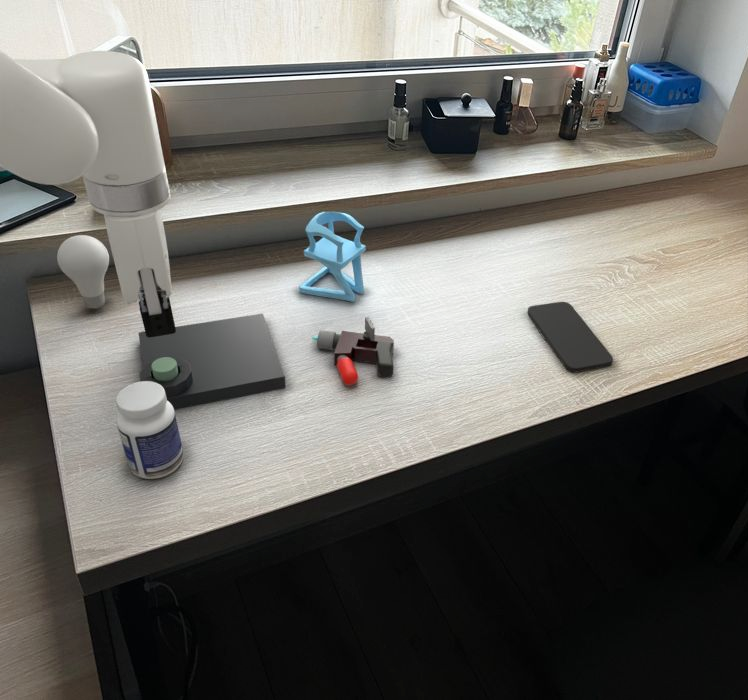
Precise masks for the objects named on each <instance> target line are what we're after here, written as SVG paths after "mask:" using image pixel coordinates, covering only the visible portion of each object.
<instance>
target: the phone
mask: <svg viewBox="0 0 748 700" xmlns="http://www.w3.org/2000/svg"><path fill="white" fill-rule="evenodd" d="M526 314H527V315H528V317H529V318H530V320H531V321H532V323H533V324H534V326H535V327H536V329H538V331H539V333H540V334H541V335H542V336H543V339H545V341H546V342H547V344H548V346H550V348H551V349H552V351H553V352H554V353H555V355H556V356H557V358H558V359H559V360H560V362H561V363H562V365H563V366H564V367H565V368H566V369H567V370H568V371H569V372H574V373H577V372H583V371H589V370H594V369H599V368H605V367H610V366H611V365H612V364H613V361H614V358H613V356H612V354H611V353H610V352H609V351H608V349H607V347H605V346H604V344H603V343H602V342H601V341H600V339H599V338H598V337H597V335H596V334H595V333H594V332H593V331H592V329H591V328H590V327H589V325H588V324H587V322H585V321H584V319H583V318H582V317H581V315H580V314H579V313H578V312H577V310H575V308H574V307H573V306H572V304H571V303H569V302H566V301H557V302H556V301H555V302H550V303H542V304H535V305H530V306H529V307H528V308H527V313H526Z"/></svg>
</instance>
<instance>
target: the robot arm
mask: <svg viewBox="0 0 748 700" xmlns="http://www.w3.org/2000/svg"><path fill="white" fill-rule="evenodd" d="M148 75H149V74H148V72H147V70H146V67H145V66H144V64H143V63H142V62H141V61H140V60H139V59H137V58H136V57H134V56H132V55H130V54H127V53H123V52H118V51H112V50H92V51H85V52H80V53H77V54H72V55H71V56H69V57H65V58H54V59H52V58H51V59H49V58H47V59H22V58H21V59H14V58H12V57H10V56H9V55H8V54H6V53H5V52H4V51H2V50H0V168H2V169H4V170H6V171H7V172H9V173H11V174H13V175H15V176H18V177H19V178H21V179H23V180H26V181H29V182H32V183H36V184H40V185H49V186H54V185H55V186H56V185H63V184H67V183H71V182H74V181H75V180H78V179H80V178H81V177H82V179H83V183H84V187H85V190H86V194H87V198H88V202H89V205H90V207H91V209H93V210H94V211H95V212H96V213H99V214H101V215H103V217H104V222H105V227H106V228H105V229H106V232H107V237H108V242H109V245H110V250H111V255H112V258H113V262H114V266H115V270H116V275H117V278H118V283H119V287H120V291H121V296H122V297H121V298H122V300H123V302H124V303H126V304H128V305H130V304H131V303H137V301H138V300H139V301H138V306H139V312H140V317H141V320H142V321H141V322H142V324H143V328H144V332H145V333H146V336H147V337H149V338H151V337H157V336H163V335H168V334H174V333H175V332H176V328H175V327H176V324H175V323H176V322H175V318H174V314H173V310H172V304H171V299H170V297H171V295H172V294H173V290H172V289H173V288H172V278H171V266H170V258H169V251H168V250H169V249H168V243H167V238H166V232H165V225H164V219H163V215H162V210H161V209H163V208H164V207H165V206H167V205H168V204H169V202H170V201H171V198H172V196H171V190H170V185H169V180H168V175H167V168H166V165H165V159H164V154H163V148H162V143H161V137H160V133H159V132H160V131H159V127H158V122H157V117H156V116H157V115H156V111H155V106H154V100H153V95H152V90H151V84H150V80H149V79H150V78H149V76H148Z"/></svg>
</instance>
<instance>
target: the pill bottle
mask: <svg viewBox="0 0 748 700" xmlns="http://www.w3.org/2000/svg"><path fill="white" fill-rule="evenodd" d="M115 400H116V402H115V403H116V406H117V410H118V412H117V415H116V419H115V420H116V427H117V431H118V433H119V437H120V441H121V444H122V449H123V451H124V455H125V458H126V461H127V465H128V468H129V470H130V471H131V472H132V474H133V475H135V476H136V477H139V478H141V479H147V480H155V479H160V478H164V477H166V476H169V475H170V474H172V473H174V472H175V471H176V470H177V469H178V468H179V467H180V466H181V464H182V462H183V460H184V447H183V444H182V439H181V435H180V430H179V426H178V421H177V416H176V412H175V409H174V408H173V406H172V405H171V403H170V402H169V401H167V398H166V394H165V390H164V388H163V387H162V386H161V385H160V384H158V383H155V382H151V381H142V382H141V381H137V382H133V383H130V384H129V385H127V386H124V387H123V388H122V389H121V390H120V391H119V392H118V393H117V395H116V399H115Z"/></svg>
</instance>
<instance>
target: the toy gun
mask: <svg viewBox="0 0 748 700" xmlns="http://www.w3.org/2000/svg"><path fill="white" fill-rule="evenodd" d="M375 329H376V328H375V325H374V324H373V322H372V320H371V318H370V316H365V317H364V332H363V333H362V332H356V331H346V330H341V332H340V333H337V332H336V331H330V330H321V329H320V330H318V332H317V333H318V334H317V336H314V337H311V339H312V340H314V341H316V347H317V349H320V350H330V351H334V352H333V364H334V366H336V368H337V370H338V373H339V376H340V378H341V381H342V382H343V384H344V385H347V386H353V385H355V384H356V383H357V382H358V381H359V375H358V372H357V369H356V366H355V365H354V363H353V361H356V362H363V363H372V364H376V372H377V375H378V376H381V377H389V378H390V377H393V376H394V361H393V355H394V351H395V348H394V347H395V339H393V338H392V337H391V336H387V335H380V334H376V333H375V331H376V330H375Z"/></svg>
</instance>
